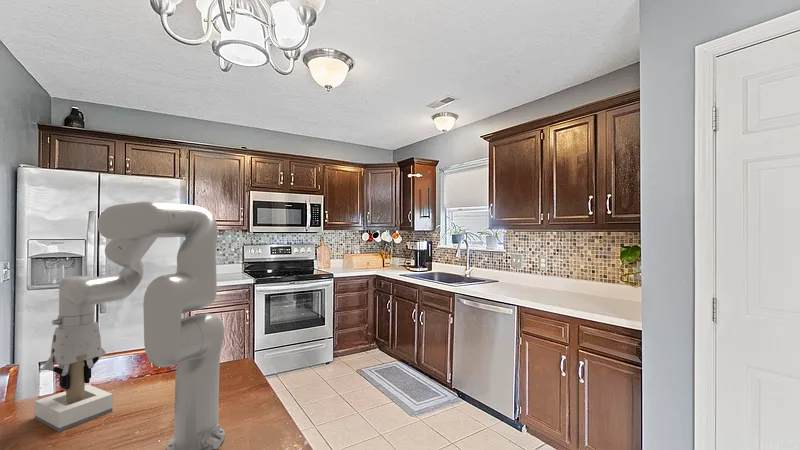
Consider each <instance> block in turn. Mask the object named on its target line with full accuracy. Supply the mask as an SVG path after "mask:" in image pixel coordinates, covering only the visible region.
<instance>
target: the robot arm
mask: <svg viewBox="0 0 800 450" xmlns="http://www.w3.org/2000/svg"><path fill="white" fill-rule="evenodd" d="M96 224H97V229H98V233H99V234H100V235H101V236H102V237H103V238H105V239H107V240H109V241H108V243H107V244H106V246H105V248H104V254H105V256H106V258H107V259H108V260H109V261H111V263H113V264H116V265H117V266H120V267H122V269H121V270H120V271H119V272H118V273H117V274H111V275H110V274H109V275H100V276H94V277H92V276H90V275H74V276H73V275H72V276H66V277H64V278H61V279H60V281H59V283H58V284H59V285H58V286H59V289H58V316H57V318H56V319H53V320H52V321H51V325H53V326H55V325H56V326H57V327H55V330H54V332H53V337H52V341H51V347H50V348H51V349H50V356H49V357H48V359H47V360H46V362H45V363H44V365H43V366H42V369H43V370H47V371H49V372H50V371H51V372H54V373H55V374H57V375H59V376H58V378H59V379H58V380H59V384H58V385H59V387H60V388H61V389H62V390H65V391H66V390H67V389H69V388H70V375H69V374H68V369H69V365H70V364H73V363H77V362H80V361H76V356H80V355H84V354H87V358H86V359H84V360H81V361H84V382H85V384H89V383H90V381H91V378H92V369H93V368H94V366H95V364H96V363H97V362H98V361H99V360H100V359H102V357H104V356H105V355H106V351H105V350H104V348H103V347H102V338H101V331H100V326H99V322H98V321H95V305H100V304H104V303H111V302H116V301H122V300H124V299H126V298H128V297H129V296H130V295H131V294H132V293H133V292H134V291H135V290H136V289H137V288H138V286H139V285H140V283H141V282H142V280H143V278H144V264H143V261H142V259H143V257H145V255H146V254H147V252H148V251H149V249H150V248H151V247H152V246H153V245H154V244H155V241H156V240H157V239H158V238H159V239H160V238H184V240H183V241H182V242H181V244H180V246H179V248H178V251H177V254H176V271H175V272H176V273H171V274H165V275H160V276H157V277H155V279H153V280H152V281H151V282H150V283H149V284H148V285H147V287H146V289H145V291H144V295H143V343H144V351H145V355H146V358H147V360H148V361H149V362H150V364H152V365H153V366H155V367H158V368H167V367H170V366H171V367H172V366H174V365H176V364H178V365H177V368H176V371H175V379H174V380H175V381H174V419H173V421H174V427H173V429H174V430H173V432H174V433H173V437H172V438H170V439H169V440H168V442H167V444H166V446H165V450H217V449H219V447H221V444H222V443H223V441H225V440H226V437H227V436H226V434H225V433H226V432H225V429H224V428H222V426H221V424H220V423H219V408H220V407H219V399H220V397H219V396H220V395H219V394H220V362H221V360H220V359H221V354H222V347H223V343H224V338H225V325H224V323H223V321H222V319H220V317H219V316H217V315H216V314H213V313H207V312H206V313H198V314H193V315H190V316H186V317H183V318H182V315H183V314H185V313H189V312H190V313H191V312H195V311H198V310H202V309H204V308H207V307H210V306H211V305H212V304H213V303H214V302H215V300H216V298H217V293H218V292H217V291H218V290H217V289H218V286H217V285H218V284H217V257H216V255H217V254H216V253H217V244H218V243H217V241H218V233H219V232H218V224H217V220H216V218H215V216H214V215H213V214H212V213H211V212H210V211H209V210H208V209H206V208H205V207H201V206H199V205H193V204H186V203H179V202H178V203H175V202H174V203H173V202H159V201H138V202H137V201H136V202H130V203H121V204H113V205H110V206H108V207H106V208H104V210H103V211H102V212H101V214H100V215H99V217H98V219H97V223H96ZM54 364H55V365H54ZM56 365H58V366H56Z"/></svg>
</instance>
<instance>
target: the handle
mask: <svg viewBox="0 0 800 450" xmlns="http://www.w3.org/2000/svg"><path fill="white" fill-rule="evenodd" d="M86 358H87V354H84V355H80V356H76V361H80V362H77V363H73V364H70V365H69V369H68V374H69V375H70V388H69V389H67V390H65V391H66V399H67V403H68V405H70V404H73V403H76V402H79V401H82V400H83V397H84V389H85V385H86V383H85V382H84V361H81V360H84V359H86Z"/></svg>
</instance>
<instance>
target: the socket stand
mask: <svg viewBox="0 0 800 450" xmlns="http://www.w3.org/2000/svg"><path fill="white" fill-rule="evenodd" d="M84 385H85V389H84V397H83V400H82V401H79V402H76V403H73V404H70V405H68V403H67V399H66V390H65V391H63V392H59V393H56V394H52V395H49V396H46V397H43V398H39V399H37V400H34V420H35V421H38V422H40V423H41V424H44V425H45V426H46V427H47V426H48V427H49V428H51V429H52V430H54V431H56V432H58V433H60V432H62V431H65V430H68V429H70V428H73V427H76V426H78V425H80V424H83V423H86V422H89V421H91V420H93V419H96V418H99V417H102V416H105V415H106V414H109V413H112V412H113V405H114V403H113V402H114V401H113V399H114V398H113V397H114V394H113V393H111V392H108V391H106V390H104V389H100V388H98V387H96V386H93V385H91V384H89V383H86V384H84Z"/></svg>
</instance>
